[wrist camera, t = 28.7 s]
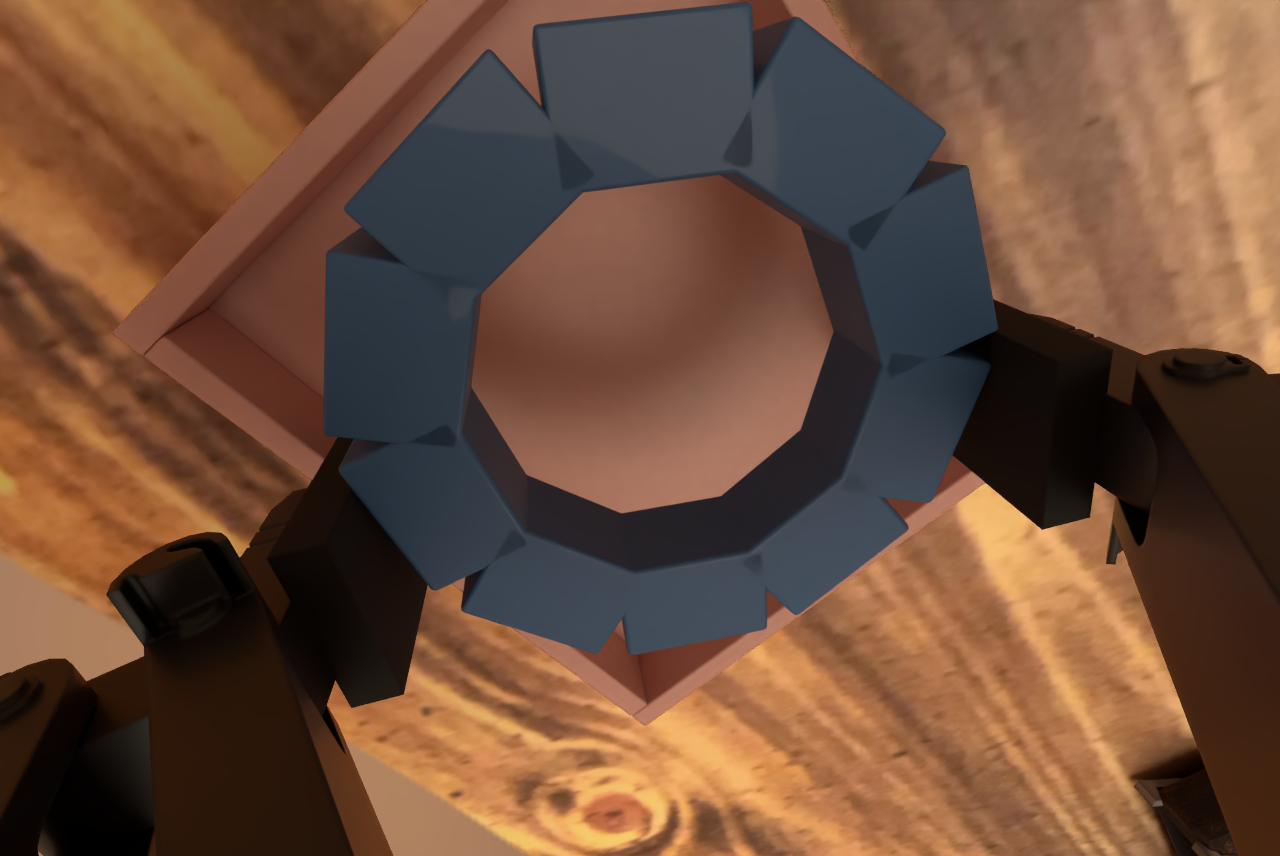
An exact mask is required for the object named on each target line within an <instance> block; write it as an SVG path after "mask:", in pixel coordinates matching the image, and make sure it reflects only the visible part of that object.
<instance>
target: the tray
mask: <svg viewBox="0 0 1280 856" xmlns="http://www.w3.org/2000/svg"><path fill="white" fill-rule="evenodd" d="M739 2H749V3H751V5H752V15H753V31H754V30H757V29H760V28H763V27H765V26H768V25H771V24H774V23H777V22H780V21H783V20H786V19H789V18H792V17H795V16H796V17H800V18H801V19H802V20H804V21H805V22H806V23H808V24H809V25H810V26H812V27H813V28H814V29H815V30H817V31H818V32H819V33H821V34H822V35H823V36H824V37H826V38H827V39H828V40H830V41H831V42H832V43H834V44H835V45H836V46H837V47H839V48H840V49H841V50H843V51H844V52H845V53H847V54H848V55H849V56H850V57H852V58H853V59H854V60H856V61H857V62H858V63H859V61H858V59H857V58H856V56H855V54H854V52H853V50H852V49H851V47H850V45H849V43H848V42H847V40H846V38H845V36H844V35H843V33H842V31H841V29H840V28H839V26H838V24H837V22H836V20H835V19H834V17H833V15H832V13H831V12H830V10H829V8H828V6H827V5H826V3H825V1H824V0H426V1H425V2H424V3H423V4H422V5H421V6H420V7H419V8H418V9H417V10H416V11H415V13H414V14H413V15H412V16H411V17H410V18H409V19H408V20H407V21H406V22H405V23H404V24H403V25H402V26H401V27H400V28H399V29H398V30H397V32H396V33H395V34H394V35H393V36H392V37H391V38H390V39H389V40H388V41H387V42H386V43H385V44H384V45H383V46H382V47H381V48H380V50H379V51H378V52H377V53H376V54H375V55H374V56H373V57H372V58H371V59H370V60H369V61H368V62H367V63H366V64H365V65H364V66H363V67H362V69H361V70H360V71H359V72H358V73H357V74H356V75H355V76H354V77H353V78H352V79H351V80H350V81H349V82H348V83H347V84H346V85H345V87H344V88H343V89H342V90H341V91H340V92H339V93H338V94H337V95H336V96H335V97H334V98H333V99H332V100H331V101H330V102H329V103H328V104H327V106H326V107H325V108H324V109H323V110H322V111H321V112H320V113H319V114H318V115H317V116H316V117H315V118H314V119H313V120H312V121H311V122H310V124H309V125H308V126H307V127H306V128H305V129H304V130H303V131H302V132H301V133H300V134H299V135H298V136H297V137H296V138H295V139H294V140H293V141H292V143H291V144H290V145H289V146H288V147H287V148H286V149H285V150H284V151H283V152H282V153H281V154H280V155H279V156H278V157H277V158H276V159H275V161H274V162H273V163H272V164H271V165H270V166H269V167H268V168H267V169H266V170H265V171H264V172H263V173H262V174H261V175H260V176H259V177H258V178H257V180H256V181H255V182H254V183H253V184H252V185H251V186H250V187H249V188H248V189H247V190H246V191H245V192H244V193H243V194H242V195H241V196H240V198H239V199H238V200H237V201H236V202H235V203H234V204H233V205H232V206H231V207H230V208H229V209H228V210H227V211H226V212H225V213H224V214H223V215H222V217H221V218H220V219H219V220H218V221H217V222H216V223H215V224H214V225H213V226H212V227H211V228H210V229H209V230H208V231H207V232H206V233H205V235H204V236H203V237H202V238H201V239H200V240H199V241H198V242H197V243H196V244H195V245H194V246H193V247H192V248H191V249H190V250H189V251H188V253H187V254H186V255H185V256H184V257H183V258H182V259H181V260H180V261H179V262H178V263H177V264H176V265H175V266H174V267H173V268H172V269H171V270H170V272H169V273H168V274H167V275H166V276H165V277H164V278H163V279H162V280H161V281H160V282H159V283H158V284H157V285H156V286H155V287H154V288H153V290H152V291H151V292H150V293H149V294H148V295H147V296H146V297H145V298H144V299H143V300H142V301H141V302H140V303H139V304H138V305H137V306H136V307H135V309H134V310H133V311H132V312H131V313H130V314H129V315H128V316H127V317H126V318H125V319H124V320H123V321H122V322H121V323H120V324H119V325H118V327H117V328H116V329H115V330H114V331H113V335H114V336H116V337H117V338H118V339H120V340H121V341H122V342H124V343H125V344H127V345H128V346H129V347H131V348H132V349H133V350H135V351H136V352H137V353H139V354H141V355H144V354H145V358H146V359H147V360H149V361H150V362H151V363H153V364H154V365H155V366H157V367H158V368H160V369H161V370H162V371H164V372H165V373H166V374H168V375H169V376H170V377H172V378H173V379H174V380H176V381H177V382H179V383H180V384H181V385H183V386H184V387H185V388H187V389H188V390H189V391H191V392H192V393H194V394H195V395H196V396H198V397H199V398H200V399H202V400H203V401H204V402H206V403H207V404H208V405H210V406H211V407H213V408H214V409H215V410H217V411H218V412H219V413H221V414H222V415H223V416H225V417H226V418H227V419H229V420H230V421H232V422H233V423H234V424H236V425H237V426H238V427H240V428H241V429H242V430H244V431H245V432H246V433H248V434H249V435H251V436H252V437H253V438H255V439H256V440H257V441H259V442H260V443H261V444H263V445H264V446H265V447H267V448H268V449H270V450H271V451H272V452H274V453H275V454H276V455H278V456H279V457H280V458H282V459H283V460H284V461H286V462H287V463H289V464H290V465H291V466H293V467H294V468H295V469H297V470H298V471H299V472H301V473H302V474H303V475H305V476H306V477H308V478H309V479H310V480H313V478H314V476H315V475H316V473H317V471H318V469H319V468H320V466H321V464H322V463H323V461H324V459H325V457H326V456H327V454H328V452H329V451H330V449H331V447H332V446H333V444H334V442H335V440H336V439H337V437H334V436H326V435H324V433H323V391H324V333H325V275H326V253H327V251H328V250H329V249H331V248H332V247H334V246H335V245H336V244H338V243H339V242H341V241H342V240H343V239H345V238H346V237H348V236H349V235H350V234H352V233H353V232H355V231H356V230H357V229H359V228H362V227H361V226H360V225H359V224H358V223H357V222H356V221H355V220H353V219H352V218H351V217H350V216H349V215H348V214H347V213H346V212H345V211H344V205H345V204H346V203H347V202H348V201H349V200H350V199H351V198H352V197H353V195H354V194H355V193H356V192H357V191H358V190H359V189H360V188H361V187H362V186H363V184H364V183H365V182H366V181H367V180H368V179H369V178H370V177H371V176H372V175H373V173H374V172H375V171H376V170H377V169H378V168H379V167H380V166H381V165H382V164H383V162H384V161H385V160H386V159H387V158H388V157H389V156H390V155H391V154H392V153H393V151H394V150H395V149H396V148H397V147H398V146H399V145H400V144H401V143H402V141H403V140H404V139H405V138H406V137H407V136H408V135H409V134H410V133H411V132H412V130H413V129H414V128H415V127H416V126H417V125H418V124H419V123H420V122H421V121H422V119H423V118H424V117H425V116H426V115H427V114H428V113H429V112H430V111H431V110H432V108H433V107H434V106H435V105H436V104H437V103H438V102H439V101H440V100H441V99H442V97H443V96H444V95H445V94H446V93H447V92H448V91H449V90H450V89H451V87H452V86H453V85H454V84H455V83H456V82H457V81H458V80H459V79H460V78H461V76H462V75H463V74H464V73H465V72H466V71H467V70H468V69H469V68H470V67H471V65H472V64H473V63H474V62H475V61H476V60H477V59H478V58H479V57H480V56H481V54H482V53H483V52H484V51H485V50H487V49H490V50H492V51H493V52H494V53H495V54H496V55H497V56H498V58H499V59H500V60H501V61H502V62H503V63H504V64H505V66H506V67H507V68H508V69H509V70H510V71H511V72H512V74H513V75H514V76H515V77H516V78H517V79H518V80H519V82H520V83H521V84H522V85H523V86H524V87H525V88H526V89H527V91H528V92H529V93H530V94H531V95H532V96H533V97H534V99H535V100H536V101H537V102H538V103H539V104H540V105H541V100H540V94H539V87H538V81H537V74H536V68H535V61H534V55H533V48H532V33H533V27H534V26H535V25H536V24H542V23H551V22H560V21H570V20H579V19H589V18H598V17H607V16H617V15H626V14H636V13H645V12H654V11H664V10H673V9H683V8H692V7H701V6H711V5H720V4H729V3H739ZM541 107H542V106H541ZM993 300H994V299H993ZM832 334H833V327H832V324H831V321H830V318H829V315H828V312H827V308H826V305H825V302H824V299H823V296H822V293H821V289H820V286H819V283H818V280H817V277H816V274H815V270H814V267H813V264H812V261H811V258H810V255H809V251H808V248H807V245H806V242H805V239H804V236H803V232H802V229H801V226H799V225H798V224H796V223H794V222H793V221H791V220H790V219H788V218H787V217H785V216H783V215H782V214H780V213H779V212H777V211H776V210H774V209H773V208H771V207H769V206H768V205H766V204H765V203H763V202H762V201H760V200H758V199H757V198H755V197H754V196H752V195H751V194H749V193H747V192H746V191H744V190H743V189H741V188H740V187H738V186H736V185H735V184H733V183H732V182H730V181H729V180H727V179H725V178H724V177H722V176H721V175H715V176H707V177H700V178H692V179H684V180H676V181H669V182H661V183H653V184H646V185H638V186H630V187H622V188H615V189H607V190H599V191H592V192H584V193H582V194H581V195H580V196H579V197H578V198H577V199H576V200H575V201H574V202H573V203H572V204H571V205H570V206H569V207H568V208H567V209H566V210H565V211H564V212H563V213H562V214H561V215H560V216H559V217H558V218H557V219H556V220H555V221H554V222H553V223H552V224H551V225H550V226H549V227H548V228H547V229H546V230H545V231H544V232H543V233H542V234H541V235H540V236H539V237H538V238H537V239H536V240H535V241H534V242H533V243H532V244H531V245H530V246H529V247H528V248H527V249H526V250H525V251H524V252H523V253H522V254H521V255H520V256H519V257H518V258H517V259H516V260H515V261H514V262H513V263H512V264H511V265H510V266H509V267H508V268H507V269H506V270H505V271H504V272H503V273H502V274H501V275H500V276H499V277H498V278H497V279H496V280H495V281H494V282H493V283H492V284H491V285H490V286H489V287H488V288H487V289H486V290H485V291H484V292H483V293H482V297H481V306H480V315H479V323H478V332H477V341H476V350H475V359H474V368H473V376H472V385H471V387H472V389H473V390H474V392H475V393H476V395H477V397H478V398H479V400H480V401H481V403H482V405H483V406H484V408H485V409H486V411H487V413H488V414H489V416H490V417H491V419H492V421H493V422H494V424H495V425H496V427H497V429H498V430H499V432H500V433H501V435H502V436H503V438H504V440H505V441H506V443H507V444H508V446H509V448H510V449H511V451H512V452H513V454H514V456H515V457H516V459H517V460H518V462H519V464H520V465H521V467H522V468H523V470H524V472H525V473H526V475H528V476H531V477H533V478H536V479H538V480H541V481H543V482H546V483H548V484H550V485H553V486H555V487H558V488H560V489H563V490H565V491H568V492H570V493H573V494H575V495H578V496H580V497H583V498H585V499H587V500H590V501H592V502H595V503H597V504H600V505H602V506H605V507H607V508H610V509H612V510H615V511H617V512H620V513H626V512H632V511H638V510H643V509H649V508H655V507H661V506H667V505H672V504H678V503H684V502H690V501H695V500H701V499H707V498H713V497H718V496H722V495H723V494H724V493H725V492H726V491H728V490H729V489H730V488H731V487H732V486H734V485H735V484H736V483H737V482H738V481H740V480H741V479H742V478H743V477H744V476H746V475H747V474H748V473H749V472H750V471H752V470H753V469H754V468H755V467H756V466H758V465H759V464H760V463H761V462H762V461H764V460H765V459H766V458H767V457H768V456H770V455H771V454H772V453H773V452H774V451H776V450H777V449H778V448H779V447H780V446H782V445H783V444H784V443H785V442H786V441H788V440H789V439H790V438H791V437H792V436H794V435H795V434H796V433H797V432H798V431H800V430H801V427H802V424H803V421H804V418H805V415H806V412H807V409H808V406H809V403H810V400H811V397H812V394H813V391H814V388H815V385H816V382H817V379H818V376H819V373H820V370H821V367H822V364H823V361H824V358H825V355H826V352H827V349H828V346H829V343H830V340H831V337H832ZM984 483H985V482H984V481H983V480H982V479H980V478H979V477H978V476H977V475H976V474H974V473H973V472H972V471H971V470H970V469H968V468H967V467H966V466H965V465H964V464H962V463H961V462H960V461H959V460H957V459H956V458H955V457H954V456H953V455H952V457H951V459H950V462H949V464H948V466H947V468H946V471H945V473H944V475H943V477H942V480H941V482H940V484H939V486H938V489H937V491H936V493H935V495H934V498H933V500H932V501H931V502H929V503H926V502H917V501H908V500H899V499H890V498H885V499H886V500H887V501H888V502H889V503H890V505H891V506H892V507H893V508H894V509H895V510H896V511H897V512H898V514H899V515H900V516H901V517H902V518H903V519H904V520H905V522H906V523H907V524H908V527H909V529H908V531H907V532H906V533H904V534H903V535H902V536H900V537H899V538H898V539H896V540H895V541H894V542H893V543H891V544H890V545H889V546H887V547H886V548H885V549H883V550H882V551H881V552H879V553H878V554H877V555H876V556H874V557H873V558H872V559H870V560H869V561H868V562H866V563H865V564H864V565H863V566H861V567H860V568H859V569H857V570H856V571H855V572H853V573H852V574H851V575H850V576H848V577H847V578H846V579H844V580H843V581H842V582H840V583H839V584H838V585H836V586H835V587H834V588H833V589H831V590H830V591H829V592H827V593H826V594H825V595H823V596H822V597H821V598H820V599H818V600H817V601H816V602H814V603H813V604H812V605H810V606H809V607H808V608H807V609H805V610H804V611H803V612H801V613H800V614H798V615H794V614H793V613H791V612H790V611H789V610H788V609H787V608H786V607H785V606H784V605H783V604H781V603H780V602H779V601H778V600H777V599H776V598H775V597H774V596H773V595H771V594H770V593H769V592H768V591H767V590H766V594H767V628H766V629H764V630H761V631H756V632H751V633H745V634H740V635H735V636H730V637H725V638H719V639H714V640H709V641H704V642H699V643H693V644H688V645H683V646H678V647H673V648H668V649H662V650H657V651H652V652H647V653H642V654H636V655H630V654H629V653H628V651H627V647H626V642H625V636H624V631H623V625H622V620H621V621H620V622H619V624H618V625H617V627H616V628H615V630H614V631H613V633H612V634H611V636H610V637H609V639H608V640H607V642H606V643H605V645H604V646H603V648H602V649H601V651H600V652H599V653H598V654H594V653H590V652H587V651H584V650H581V649H578V648H575V647H572V646H568V645H565V644H562V643H559V642H556V641H553V640H550V639H546V638H543V637H540V636H537V635H534V634H531V633H528V632H525V631H521V630H518V629H515V628H513V629H514V630H515V631H517V632H518V633H519V634H521V635H522V636H523V637H525V638H526V639H528V640H529V641H530V642H532V643H533V644H534V645H536V646H537V647H538V648H540V649H541V650H542V651H544V652H545V653H547V654H548V655H549V656H551V657H552V658H553V659H555V660H556V661H557V662H559V663H560V664H561V665H563V666H564V667H566V668H567V669H568V670H570V671H571V672H572V673H574V674H575V675H576V676H578V677H579V678H580V679H582V680H583V681H585V682H586V683H587V684H589V685H590V686H591V687H593V688H594V689H595V690H597V691H598V692H599V693H601V694H602V695H604V696H605V697H606V698H608V699H609V700H610V701H612V702H613V703H614V704H616V705H617V706H618V707H620V708H621V709H623V710H624V711H625V712H627V713H628V714H629V715H632V716H633V717H634V718H635V719H636V720H638V721H639V722H640V723H642V724H643V725H648V724H649V723H650V722H652V721H653V720H655V719H656V718H657V717H659V716H660V715H662V714H663V713H664V712H666V711H667V710H669V709H670V708H671V707H673V706H674V705H676V704H677V703H678V702H680V701H681V700H683V699H684V698H685V697H687V696H688V695H690V694H691V693H692V692H694V691H695V690H696V689H698V688H699V687H701V686H702V685H703V684H705V683H706V682H708V681H709V680H710V679H712V678H713V677H715V676H716V675H717V674H719V673H720V672H722V671H723V670H724V669H726V668H727V667H729V666H730V665H731V664H733V663H734V662H736V661H737V660H738V659H740V658H741V657H743V656H744V655H745V654H747V653H748V652H750V651H751V650H752V649H754V648H755V647H757V646H758V645H759V644H761V643H762V642H764V641H765V640H766V639H768V638H769V637H771V636H772V635H773V634H775V633H776V632H778V631H779V630H780V629H782V628H783V627H785V626H786V625H787V624H789V623H790V622H792V621H793V620H794V619H796V618H797V617H798V616H800V615H801V614H803V613H804V612H805V611H807V610H808V609H810V608H811V607H812V606H814V605H815V604H817V603H818V602H819V601H821V600H822V599H824V598H825V597H826V596H828V595H829V594H831V593H832V592H833V591H835V590H836V589H838V588H839V587H840V586H842V585H843V584H845V583H846V582H847V581H849V580H850V579H852V578H853V577H854V576H856V575H857V574H859V573H860V572H861V571H863V570H864V569H866V568H867V567H868V566H870V565H871V564H873V563H874V562H875V561H877V560H878V559H880V558H881V557H882V556H884V555H885V554H887V553H888V552H889V551H891V550H892V549H894V548H895V547H896V546H898V545H899V544H900V543H902V542H903V541H905V540H906V539H907V538H909V537H910V536H912V535H913V534H914V533H916V532H917V531H919V530H920V529H921V528H923V527H924V526H926V525H927V524H928V523H930V522H931V521H933V520H934V519H935V518H937V517H938V516H940V515H941V514H942V513H944V512H945V511H947V510H948V509H949V508H951V507H952V506H954V505H955V504H956V503H958V502H959V501H961V500H962V499H963V498H965V497H966V496H968V495H969V494H970V493H972V492H973V491H975V490H976V489H977V488H979V487H980V486H982V485H983V484H984ZM464 583H465V578H462V579H460V580H458V581H456V582H454V583H452V584H453V585H454V586H456V587H457V588H458V589H460V590H461V591H462V592H463V590H464ZM511 628H512V627H511Z"/></svg>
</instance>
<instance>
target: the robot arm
mask: <svg viewBox="0 0 1280 856" xmlns="http://www.w3.org/2000/svg"><path fill="white" fill-rule="evenodd" d="M993 302H994V308H995V313H996V318H997V324H998V330H997V331H995V332H993V333H990V334H988V335H986V336H984V337H982V338H980V339H978V340H975V341H973V342H971V343H969V344H967V345H965V346H963V347H962V348H964V349H966V350H968V351H970V352H972V353H973V354H975V355H977V356H979V357H981V358H982V359H984V360H986V361H988V362H989V363H990V364H991V369H990V372H989V374H988V376H987V378H986V381H985V383H984V385H983V387H982V390H981V392H980V394H979V396H978V399H977V401H976V403H975V405H974V408H973V410H972V412H971V414H970V417H969V419H968V421H967V423H966V426H965V428H964V430H963V432H962V435H961V437H960V439H959V441H958V444H957V446H956V448H955V450H954V453H953V456H954V457H955V458H956V459H957V460H959V461H960V462H961V463H962V464H964V465H965V466H966V467H967V468H968V469H970V470H971V471H972V472H973V473H974V474H976V475H977V476H978V477H979V478H980V479H982V480H983V481H984V482H985V483H986V484H988V485H989V486H990V487H991V488H992V489H994V490H995V491H996V492H997V493H999V494H1000V495H1001V496H1002V497H1003V498H1005V499H1006V500H1007V501H1008V502H1009V503H1011V504H1012V505H1013V506H1014V507H1015V508H1017V509H1018V510H1019V511H1020V512H1021V513H1023V514H1024V515H1025V516H1026V517H1027V518H1029V519H1030V520H1031V521H1032V522H1034V523H1035V524H1036V525H1037V526H1038V527H1040V528H1041V529H1042V530H1043V529H1047V528H1050V527H1054V526H1058V525H1062V524H1066V523H1070V522H1074V521H1078V520H1081V519H1085V518H1089V517H1090V512H1091V505H1092V498H1093V491H1094V483H1097V484H1098V485H1100V486H1101V487H1103V488H1104V489H1106V490H1107V491H1109V492H1110V493H1112V494H1113V495H1115V496H1116V499H1115V505H1114V511H1113V518H1112V524H1111V530H1110V536H1109V543H1108V549H1107V562H1106V564H1116V558H1117V554H1118V553H1120V552H1121V551H1122V550H1123V551H1124V553H1125V556H1126V559H1127V561H1128V565H1129V567H1130V569H1131V572H1132V575H1133V577H1134V580H1135V583H1136V585H1137V588H1138V591H1139V593H1140V596H1141V599H1142V601H1143V604H1144V606H1145V609H1146V612H1147V614H1148V617H1149V620H1150V622H1151V625H1152V628H1153V630H1154V633H1155V636H1156V638H1157V641H1158V644H1159V646H1160V649H1161V652H1162V654H1163V657H1164V660H1165V662H1166V665H1167V668H1168V670H1169V673H1170V675H1171V678H1172V681H1173V683H1174V686H1175V689H1176V691H1177V694H1178V697H1179V699H1180V702H1181V705H1182V707H1183V710H1184V713H1185V715H1186V718H1187V721H1188V723H1189V726H1190V729H1191V731H1192V734H1193V737H1194V739H1195V742H1196V744H1197V747H1198V750H1199V752H1200V755H1201V758H1202V760H1203V763H1204V766H1205V768H1206V771H1207V774H1208V776H1209V779H1210V782H1211V784H1212V787H1213V790H1214V792H1215V795H1216V798H1217V800H1218V803H1219V806H1220V808H1221V811H1222V813H1223V816H1224V819H1225V821H1226V824H1227V827H1228V829H1229V832H1230V835H1231V837H1232V840H1233V843H1234V845H1235V848H1236V851H1237V853H1238V856H1280V373H1279V374H1267V373H1266V372H1265V371H1264V370H1263V369H1262V368H1261V367H1260V366H1259V365H1257V364H1256V363H1254V362H1253V361H1251V360H1249V359H1248V358H1245V357H1243V356H1241V355H1238V354H1232V353H1228V352H1222V351H1215V350H1209V349H1197V348H1192V349H1186V348H1181V349H1171V350H1162V351H1158V352H1155V353H1151V354H1148V355H1143V354H1140V353H1138V352H1135V351H1133V350H1130V349H1128V348H1125V347H1123V346H1121V345H1118V344H1116V343H1113V342H1111V341H1108V340H1106V339H1103V338H1101V337H1095V338H1094V335H1093V334H1091V333H1088V332H1086V331H1083V330H1081V329H1077V330H1076V329H1075V327H1074V326H1071V325H1069V324H1066V323H1064V322H1061V321H1059V320H1056V319H1054V318H1050V317H1045V316H1039V315H1033V314H1028V313H1025V312H1022V311H1020V310H1017V309H1015V308H1013V307H1010V306H1008V305H1005V304H1003V303H1001V302H998V301H996V300H993ZM353 440H354V439H352V438H343V437H337V439H336V440H335V442H334V444H333V446H332V447H331V449H330V451H329V452H328V454H327V456H326V457H325V459H324V461H323V463H322V464H321V466H320V468H319V469H318V471H317V473H316V475H315V476H314V478H313V480H312V481H311V483H310V485H309V486H308V488H305V489H301V490H297V491H293V492H292V493H291V494H290V495H289V496H287V497H286V498H285V499H284V500H283V501H282V502H280V503H279V504H278V505H277V506H276V507H274V508H273V509H272V510H271V511H270V513H269V514H268V516H267V518H266V519H265V521H264V522H263V524H262V525H261V527H260V528H259V530H260V532H257V533H256V535H255V536H254V538H253V539H252V541H251V542H250V544H249V545H250V548H247V549H246V550H245V552H244V553H243V555H242V556H241V558H239V556H238V554H237V553H236V551H235V549H234V548H233V546H232V544H231V543H230V541H229V539H228V538H227V537H226V536H224V535H223V534H222V533H216V532H205V533H200V534H195V535H190V536H187V537H184V538H181V539H179V540H176V541H173V542H171V543H168V544H166V545H164V546H162V547H160V548H158V549H156V550H154V551H152V552H150V553H148V554H146V555H144V556H143V557H142V558H140V559H139V560H137V561H136V562H134V563H133V564H132V565H130V566H129V567H127V568H126V569H125V570H124V571H123V572H122V573H121V574H120V575H119V576H118V577H117V578H116V579H115V580H114V581H113V582H112V583H111V585H110V587H109V590H108V592H107V594H106V595H107V597H108V598H109V599H110V601H111V602H112V603H113V605H114V606H115V607H116V609H117V610H118V612H119V613H120V614H121V616H122V617H123V618H124V620H125V621H126V622H127V624H128V625H129V627H130V628H131V629H132V631H133V632H134V633H135V635H136V636H137V638H138V639H139V640H140V642H141V643H142V644H143V646H144V656H143V657H141V658H139V659H137V660H135V661H132V662H130V663H128V664H125V665H123V666H121V667H118V668H116V669H114V670H112V671H110V672H107V673H105V674H102V675H100V676H98V677H96V678H94V679H91V680H89V681H86V680H85V679H84V678H83V677H82V676H81V674H80V673H79V672H78V671H77V669H76V668H75V667H74V666H73V665H72V664H71V663H70V662H69V661H67V660H66V659H48V660H44V661H40V662H37V663H33V664H30V665H27V666H25V667H23V668H20V669H18V670H16V671H14V672H12V673H10V672H9V673H6V674H4V675H2V676H0V856H39V855H38V851H39V852H40V853H41V854H42V855H43V856H393V854H392V851H391V849H390V847H389V844H388V842H387V840H386V837H385V835H384V833H383V830H382V828H381V825H380V823H379V820H378V818H377V816H376V814H375V811H374V809H373V806H372V804H371V801H370V799H369V797H368V794H367V792H366V790H365V787H364V785H363V782H362V780H361V778H360V775H359V773H358V771H357V768H356V766H355V763H354V761H353V759H352V756H351V754H350V751H349V749H348V747H347V744H346V742H345V739H344V737H343V735H342V732H341V730H340V728H339V725H338V723H337V721H336V720H335V718H334V716H333V715H332V713H331V711H330V710H329V708H328V706H327V703H328V700H329V697H330V694H331V691H332V688H333V685H334V682H335V680H336V682H337V684H338V685H339V687H340V689H341V691H342V692H343V694H344V696H345V698H346V699H347V701H348V703H349V705H350V706H351V708H353V707H357V706H361V705H365V704H369V703H372V702H376V701H380V700H384V699H388V698H392V697H396V696H400V695H403V694H404V691H405V686H406V682H407V677H408V672H409V668H410V663H411V659H412V654H413V649H414V645H415V640H416V636H417V631H418V626H419V622H420V617H421V613H422V608H423V603H424V599H425V594H426V590H427V585H428V584H427V583H426V582H425V581H424V579H423V578H422V577H421V576H420V574H419V573H418V572H417V571H416V569H415V568H414V567H413V565H412V564H411V563H410V562H409V560H408V559H407V558H406V557H405V555H404V554H403V553H402V552H401V550H400V549H399V548H398V547H397V545H396V544H395V543H394V542H393V540H392V539H391V538H390V536H389V535H388V534H387V533H386V531H385V530H384V529H383V528H382V526H381V525H380V524H379V523H378V521H377V520H376V519H375V518H374V516H373V515H372V514H371V513H370V511H369V510H368V509H367V507H366V506H365V505H364V504H363V502H362V501H361V500H360V499H359V497H358V496H357V495H356V494H355V492H354V491H353V490H352V489H351V487H350V486H349V485H348V483H347V482H346V481H345V480H344V478H343V477H342V476H341V475H340V472H339V466H340V465H341V463H342V461H343V459H344V457H345V455H346V453H347V451H348V449H349V447H350V446H351V444H352V442H353Z"/></svg>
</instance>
